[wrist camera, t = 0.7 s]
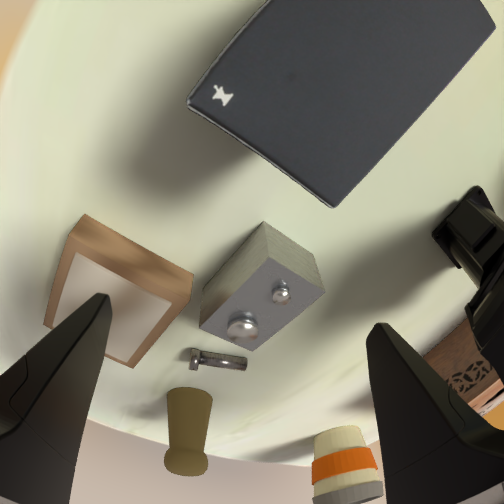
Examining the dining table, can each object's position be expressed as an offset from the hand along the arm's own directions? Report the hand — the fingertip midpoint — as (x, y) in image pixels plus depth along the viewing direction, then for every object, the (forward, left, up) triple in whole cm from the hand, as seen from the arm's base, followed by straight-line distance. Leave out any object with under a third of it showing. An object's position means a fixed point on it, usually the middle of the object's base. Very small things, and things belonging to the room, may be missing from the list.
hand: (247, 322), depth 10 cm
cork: (-12, +28, -13) cm, 33 cm away
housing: (-6, +6, -13) cm, 15 cm away
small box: (+2, -9, -13) cm, 16 cm away
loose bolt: (-10, +17, -13) cm, 23 cm away
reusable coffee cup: (-43, +29, -13) cm, 53 cm away
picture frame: (+3, +15, -13) cm, 20 cm away
